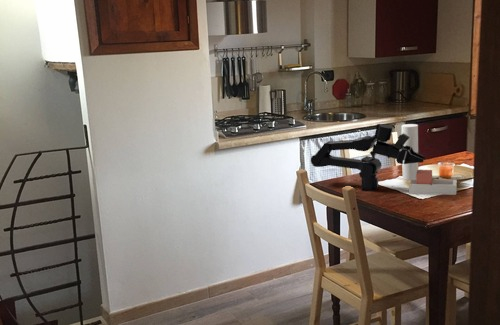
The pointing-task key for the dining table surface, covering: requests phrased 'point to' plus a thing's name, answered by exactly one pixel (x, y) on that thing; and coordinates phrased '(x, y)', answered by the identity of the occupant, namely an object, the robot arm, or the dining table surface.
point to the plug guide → (434, 187)
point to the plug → (424, 177)
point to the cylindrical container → (412, 132)
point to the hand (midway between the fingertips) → (424, 159)
